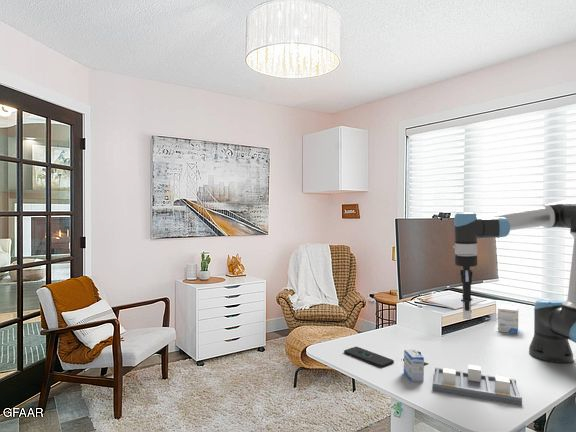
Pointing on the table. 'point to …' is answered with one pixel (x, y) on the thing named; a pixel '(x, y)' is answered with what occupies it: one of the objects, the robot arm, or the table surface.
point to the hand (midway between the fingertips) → (467, 318)
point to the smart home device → (369, 357)
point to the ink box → (508, 319)
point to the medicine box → (413, 365)
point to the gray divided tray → (476, 387)
